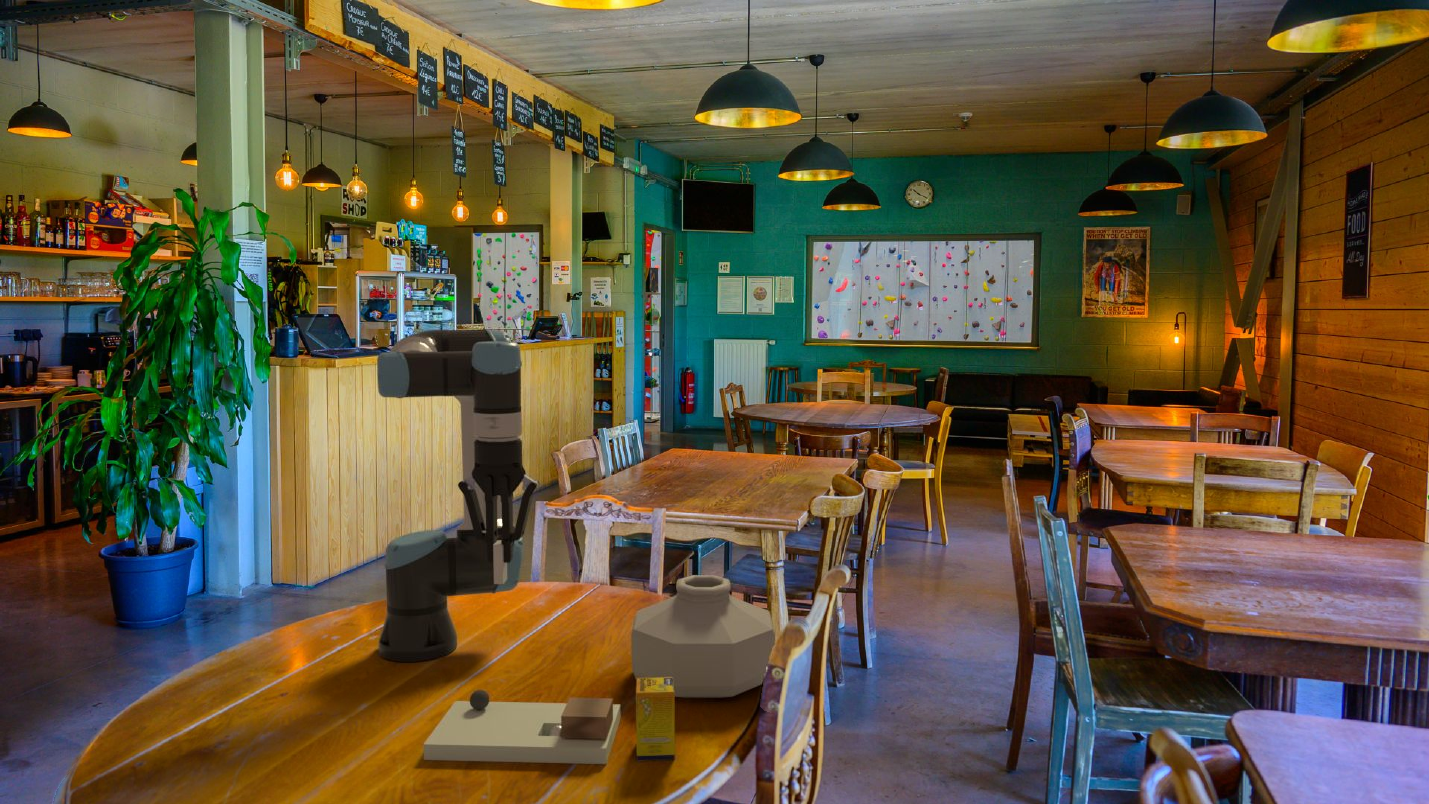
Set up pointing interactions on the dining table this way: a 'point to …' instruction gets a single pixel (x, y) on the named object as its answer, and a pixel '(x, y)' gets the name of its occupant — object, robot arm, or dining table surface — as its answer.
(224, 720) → the dining table surface
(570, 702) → the cover
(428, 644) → the robot arm
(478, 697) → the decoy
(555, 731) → the ball
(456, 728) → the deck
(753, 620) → the pot
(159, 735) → the dining table surface
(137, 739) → the dining table surface
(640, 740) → the supplement box
